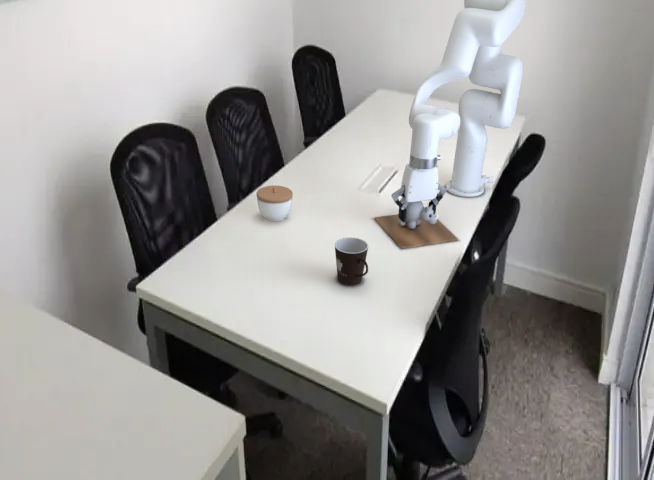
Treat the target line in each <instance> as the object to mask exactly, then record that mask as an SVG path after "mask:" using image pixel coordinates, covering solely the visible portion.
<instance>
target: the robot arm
mask: <svg viewBox="0 0 654 480" xmlns="http://www.w3.org/2000/svg"><path fill="white" fill-rule="evenodd" d="M463 6H464V8H463V9H461V10H459V12H457V14H456V16H455V18H454V20H453V21H454V22H453V24H452V28H451V31H450V34H449V37H448V41H447V43H446V47H445V50H444V53H443V56H442V60H441V62H440V64H439V66H438V67H437V68H435V69H434V70H433V71H431V72H430V73H429V74H427V76H426V77H425V78H424V79H423V80H422V81H421V83H420V84H419V85H418V87H417V88H416V89H417V90H416V91H415V94H414V97H413V100H412V103H411V106H410V110H409V114H408V125H409V127H410V129H411V130H412V131H411V139H410V140H411V142H410V151H409V153H410V154H409V161H408V163H407V164H405V167H404V171H403V173H402V178H401V184H400V188H398V189H397V190H396V191H394V192H393V193H392V194H391V198H392V200H393V202H394V203H395V204H396V205H397V207H398V213H397V214H398V217H399V219H400V220H401V221H402V222H405V221H406V212H407V210H406V209H405V208H406V207H407V205H408V204H409V203H410V202H418V201H421V202H426V201H428V205H427V207H430V206H431V205H433V206H432V210H433V211H434V212H433V213H434V215H435V216H436V214H437V206H438V205H439V203H440V201H442V200H443V198H444V196H445V194H446V192H448V193H450V194H452V195H455V196H458V197H462V198H463V197H465V198H473V197H478V196H481V195H482V194H484V191H485V187H484V186H485V184H493V183H494V181H495V179H494V176H487V175H486V174H484V175H483V168H484V163H485V158H486V157H485V156H486V152H487V151H486V150H487V145H488V138H489V137H488V131H487V129H486V127H491V128H495V129H500V130H505V129H508V128H509V127H510V126H511V125H512V124H513V122H514V120H515V117H516V112H517V106H518V101H519V97H520V92H521V87H522V81H523V76H524V75H523V74H524V66H523V65H524V64H523V62H522V60H521V59H520V58H519V57H517V56H514V55H510V54H509V55H508V54H503V52H502V48H503V44H504V43H505V42H506V41H507V40H508V38H509V37H510V36H511V34H512V33H513V32H514V31H515V29H516V28H517V27H518V26H519V25H520V23H521V21H523V18H524V15H525V13H526V8H527V0H463ZM467 77H468V80H469V81H470V83H471V84H473V85H476V86H479V87H483V88H488V89H494V90H497V91H500V93H497V92H493V91H488V90H483V89H478V88H472V89H468V90H466V91H464V92H463V93H462V94H461V95H460V98H459V100H458V112H457V111H455V110H453V109H450V108H445V107H441V106H436V105H431V104H428V102H429V99H430V98H431V95H432V94H433V93H434V92H435V91H436V90H437V89H439V88H440V87H441V86H443V85H445V84H449V83H452V82H454V81H458V80H462V79H465V78H467ZM485 126H486V127H485ZM456 134H457V138H456V143H455V144H456V145H455V152H454V159H453V164H452V165H453V167H452V174H451V179H450V180H448V181H447V182H446V183H445V186H443V185H442V184H439V166H438V161H440V160H441V158H442V157H441V155H440V154H438V152H439V146H440V145H439V143H440V141H441V140H447V139H449V138H452V137H454V136H455V135H456ZM399 197H401V198H400V199H399Z"/></svg>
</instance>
